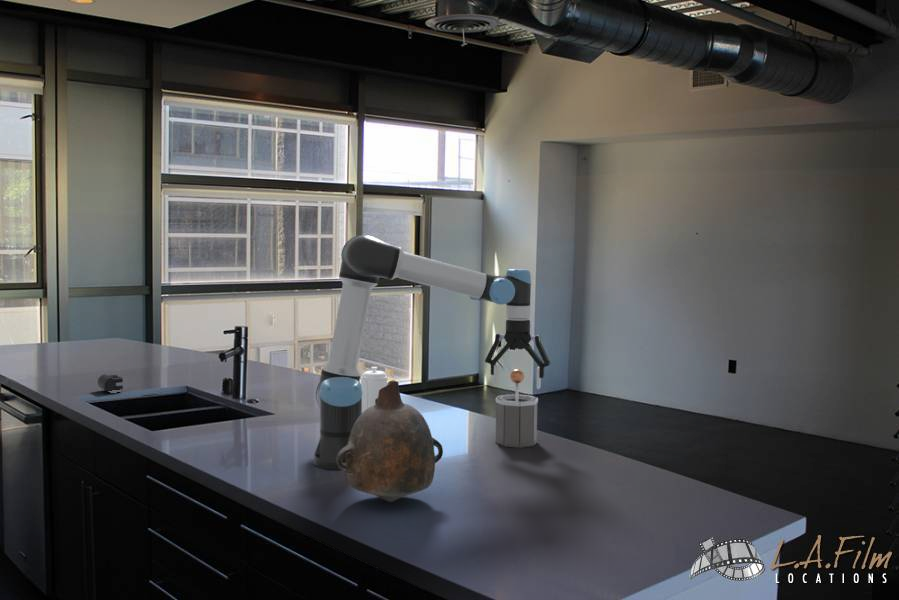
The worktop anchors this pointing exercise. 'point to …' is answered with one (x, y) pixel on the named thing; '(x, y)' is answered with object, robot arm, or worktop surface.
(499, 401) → the grey octagonal tube
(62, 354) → the worktop surface
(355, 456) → the jug
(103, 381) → the end cap
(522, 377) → the copper ball knob
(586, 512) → the worktop surface
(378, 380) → the coffeepot
